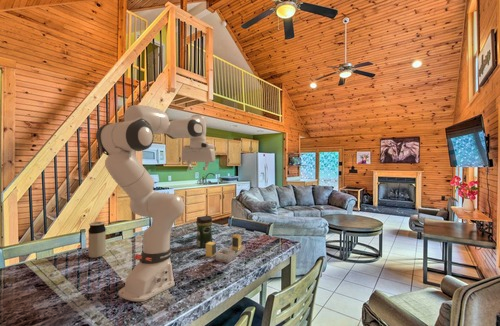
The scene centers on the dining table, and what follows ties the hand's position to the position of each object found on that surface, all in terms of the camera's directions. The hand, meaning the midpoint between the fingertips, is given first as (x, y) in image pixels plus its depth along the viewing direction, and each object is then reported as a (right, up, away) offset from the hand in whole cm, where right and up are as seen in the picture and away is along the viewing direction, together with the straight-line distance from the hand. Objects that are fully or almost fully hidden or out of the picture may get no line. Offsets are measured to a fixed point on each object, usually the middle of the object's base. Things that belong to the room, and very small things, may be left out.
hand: (197, 170), depth 134 cm
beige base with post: (+18, -48, +4) cm, 52 cm away
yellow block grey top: (+7, -48, +2) cm, 49 cm away
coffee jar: (0, -48, +18) cm, 51 cm away
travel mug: (-56, -48, +1) cm, 74 cm away
